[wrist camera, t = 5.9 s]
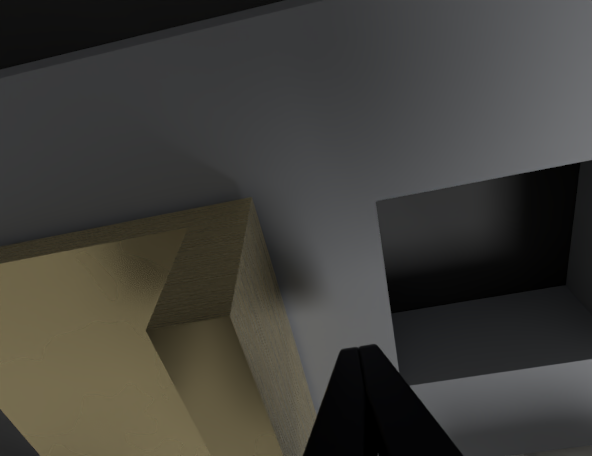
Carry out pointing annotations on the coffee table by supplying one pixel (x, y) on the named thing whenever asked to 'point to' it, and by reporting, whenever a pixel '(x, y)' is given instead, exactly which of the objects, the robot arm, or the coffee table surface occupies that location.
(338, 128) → the socket block
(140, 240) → the tan piece
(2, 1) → the coffee table surface
